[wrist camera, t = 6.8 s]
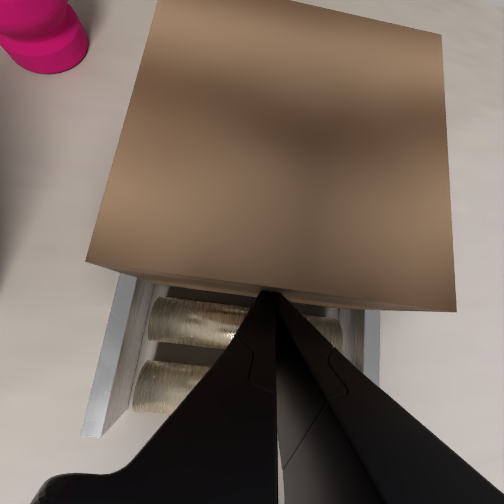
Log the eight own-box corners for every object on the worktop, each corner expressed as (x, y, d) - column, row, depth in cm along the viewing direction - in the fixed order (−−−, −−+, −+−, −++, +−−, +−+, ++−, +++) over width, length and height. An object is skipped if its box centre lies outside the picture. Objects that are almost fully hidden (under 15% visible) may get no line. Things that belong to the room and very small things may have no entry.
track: (347, 430, 17) (409, 492, 12) (111, 407, 16) (47, 465, 10) (358, 119, 23) (403, 56, 17) (184, 85, 22) (169, 5, 16)
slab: (345, 309, 16) (456, 312, 8) (156, 283, 15) (85, 261, 7) (351, 146, 19) (441, 34, 11) (191, 117, 18) (166, -28, 10)
